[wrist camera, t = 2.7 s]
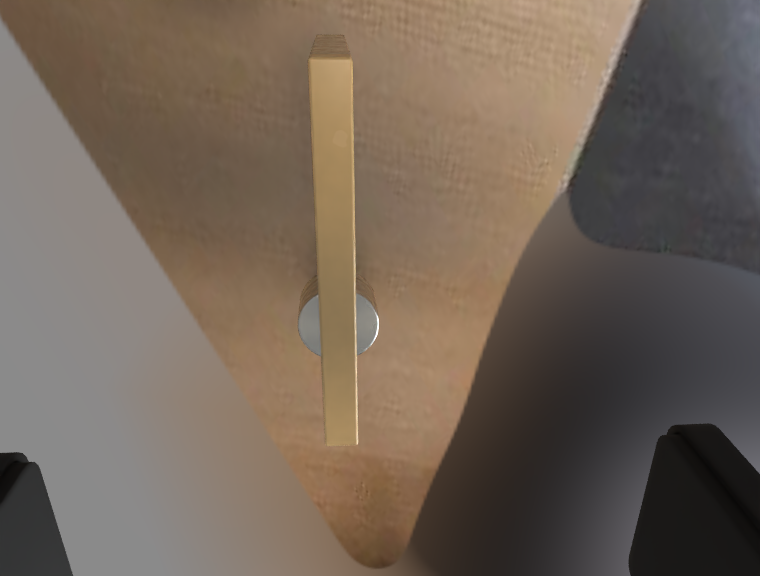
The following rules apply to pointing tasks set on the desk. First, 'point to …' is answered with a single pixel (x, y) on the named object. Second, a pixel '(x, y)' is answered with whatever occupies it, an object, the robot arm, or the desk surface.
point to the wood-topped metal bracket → (335, 244)
